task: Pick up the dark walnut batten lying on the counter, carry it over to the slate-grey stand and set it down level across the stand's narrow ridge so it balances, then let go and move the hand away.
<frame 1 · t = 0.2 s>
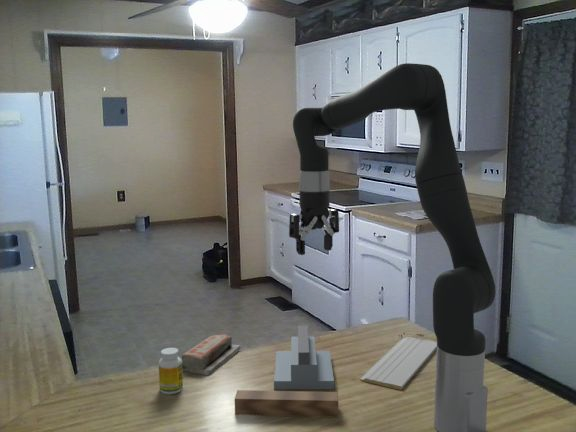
hand: (314, 252, 150), 29 cm above the worktop, tool pointing down, fingers open, 8 cm apart
supplement bottle: (171, 390, 138), on the worktop
packaged product: (209, 361, 155), on the worktop
ridge stand: (303, 372, 146), on the worktop
walnut batten: (286, 412, 127), on the worktop
baseboard molding: (399, 364, 153), on the worktop
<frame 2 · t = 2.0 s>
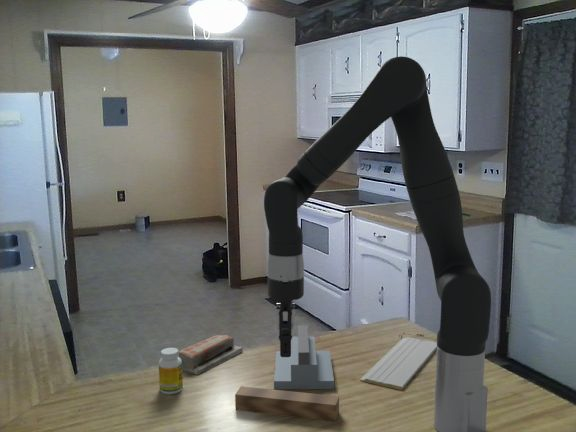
hand: (285, 348, 125), 14 cm above the worktop, tool pointing down, fingers open, 8 cm apart
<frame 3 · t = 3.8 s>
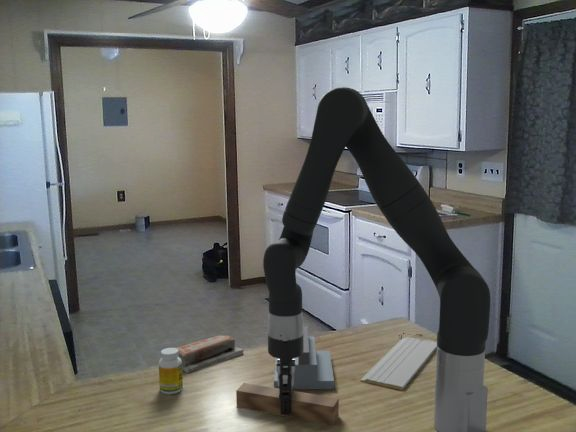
hand: (286, 406, 127), 1 cm above the worktop, tool pointing down, fingers closed on walnut batten, 5 cm apart
walnut batten: (286, 411, 127), on the worktop, touching gripper
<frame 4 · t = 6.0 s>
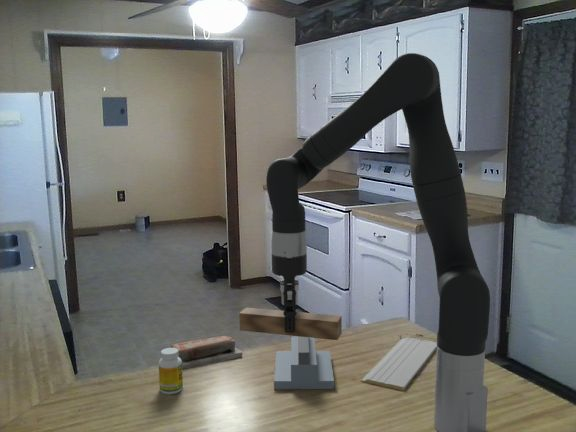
hand: (289, 327, 128), 17 cm above the worktop, tool pointing down, fingers closed on walnut batten, 5 cm apart
walnut batten: (290, 332, 129), point 16 cm above the worktop, touching gripper
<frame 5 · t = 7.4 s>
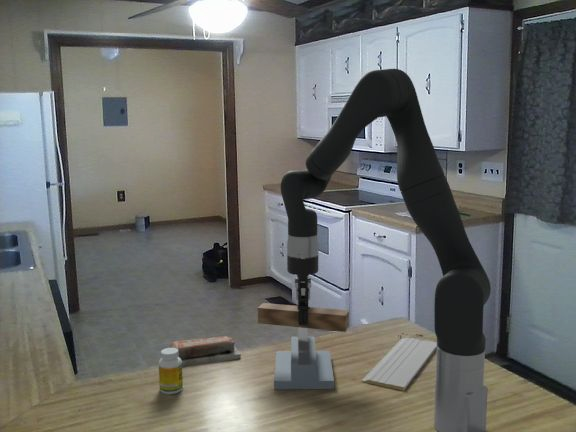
hand: (303, 320, 144), 14 cm above the worktop, tool pointing down, fingers closed on walnut batten, 5 cm apart
walnut batten: (303, 324, 144), point 12 cm above the worktop, touching gripper
when the fingers open (11 cm above the worktop, at t = 8.3 s): walnut batten stays where it is, resting on ridge stand.
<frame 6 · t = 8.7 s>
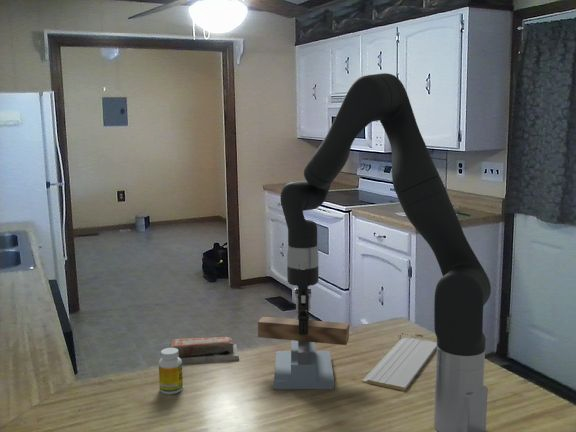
hand: (303, 328, 144), 12 cm above the worktop, tool pointing down, fingers open, 8 cm apart
walnut batten: (303, 338, 145), point 9 cm above the worktop, touching ridge stand
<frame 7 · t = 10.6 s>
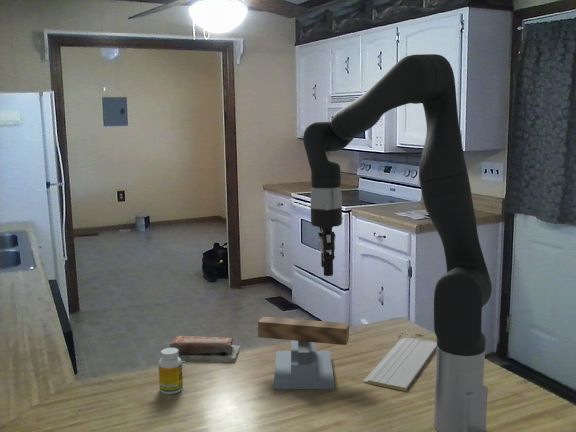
hand: (327, 271, 144), 25 cm above the worktop, tool pointing down, fingers open, 8 cm apart
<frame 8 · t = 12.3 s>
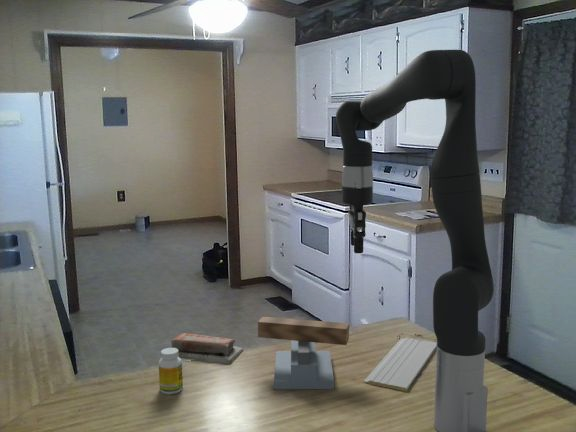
hand: (356, 249, 147), 30 cm above the worktop, tool pointing down, fingers open, 8 cm apart
at the end: walnut batten 0.0 cm off-centre on the ridge stand, point 9.0 cm above the ridge stand's base; walnut batten tilted 0°; the gripper is holding nothing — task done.
